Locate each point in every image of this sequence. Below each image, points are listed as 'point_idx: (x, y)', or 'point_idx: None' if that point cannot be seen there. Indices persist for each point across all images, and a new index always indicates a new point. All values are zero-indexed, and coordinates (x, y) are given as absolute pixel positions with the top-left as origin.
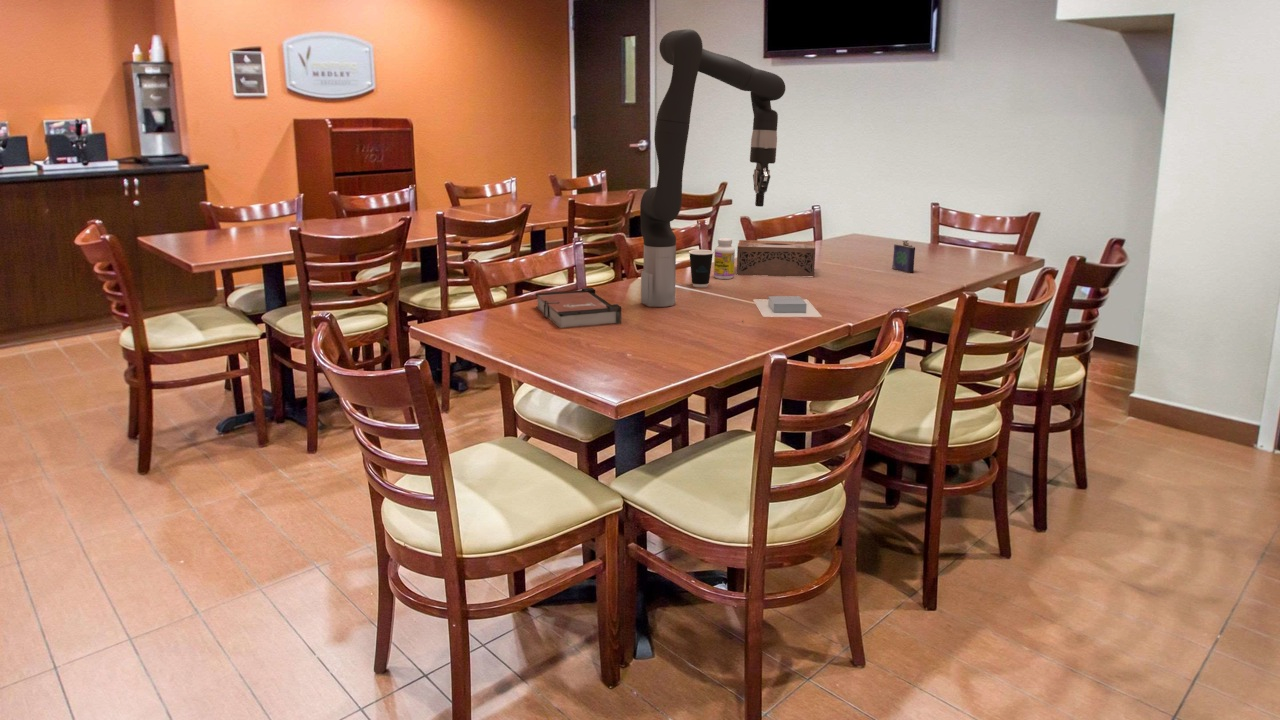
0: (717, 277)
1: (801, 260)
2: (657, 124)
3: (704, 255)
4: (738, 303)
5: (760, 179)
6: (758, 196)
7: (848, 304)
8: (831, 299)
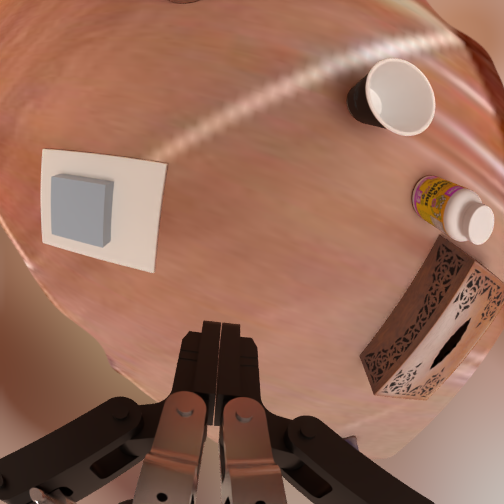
0: (423, 178)
1: (382, 359)
2: None
3: (366, 89)
4: (154, 127)
5: (36, 475)
6: (180, 377)
7: (131, 322)
8: (168, 316)
